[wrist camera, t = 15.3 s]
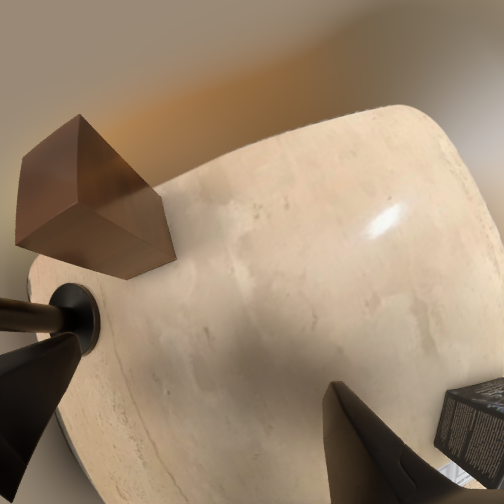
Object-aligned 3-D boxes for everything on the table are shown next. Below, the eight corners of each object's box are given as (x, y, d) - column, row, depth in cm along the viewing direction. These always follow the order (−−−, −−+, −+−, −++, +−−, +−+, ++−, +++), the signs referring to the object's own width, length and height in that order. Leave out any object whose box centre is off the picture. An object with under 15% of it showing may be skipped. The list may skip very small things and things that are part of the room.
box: (501, 375, 15) (576, 387, 5) (489, 428, 14) (554, 456, 4) (445, 389, 16) (527, 419, 6) (431, 446, 15) (494, 498, 5)
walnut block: (176, 259, 21) (78, 201, 10) (126, 280, 22) (14, 245, 10) (160, 196, 23) (79, 113, 11) (114, 218, 23) (22, 157, 11)
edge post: (63, 363, 20) (-72, 369, 5) (46, 298, 22) (-80, 269, 7) (109, 346, 20) (-56, 351, 5) (89, 272, 22) (-58, 221, 7)
